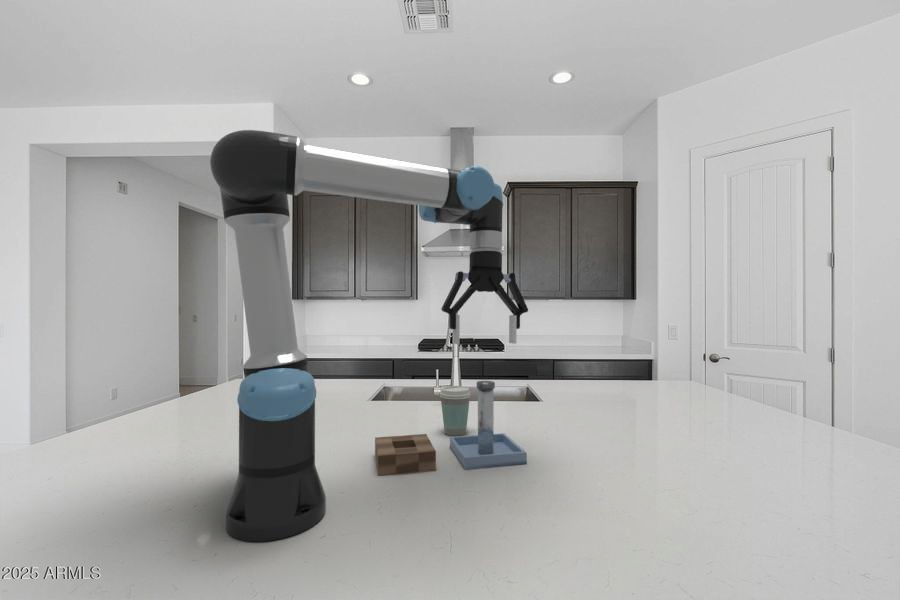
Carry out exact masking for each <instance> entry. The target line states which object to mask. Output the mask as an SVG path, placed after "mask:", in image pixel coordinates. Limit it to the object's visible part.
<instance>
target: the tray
mask: <svg viewBox="0 0 900 600" xmlns="http://www.w3.org/2000/svg"><path fill="white" fill-rule="evenodd" d="M449 448H450V450H451V452H452V453H453V454H454V456H455V457H456V459H457V460H458V461H459V463H460V465H461V467H462V468H463V469H464V470H473V469H474V470H475V469H483V468H484V469H485V468H486V469H487V468H497V467H507V466H519V465H520V466H521V465H527V461H528V460H527V458H528V457H527V451H526V450H524V448H522V447H521V446H520V445H519V444H518V443H516V442H515V441H514V440H513V439H512V438H511V437H509V436H508V435H507V434H506V433H503V432H501V433H500V432H499V433H494V453H493V454H488V455H480V454H478V434H477V435H475V434H474V435H461V436H450V437H449Z"/></svg>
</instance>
